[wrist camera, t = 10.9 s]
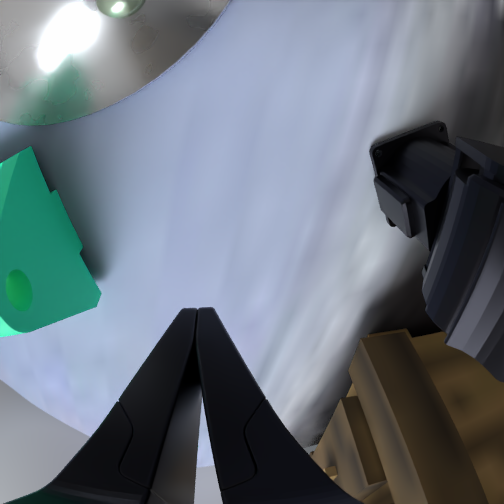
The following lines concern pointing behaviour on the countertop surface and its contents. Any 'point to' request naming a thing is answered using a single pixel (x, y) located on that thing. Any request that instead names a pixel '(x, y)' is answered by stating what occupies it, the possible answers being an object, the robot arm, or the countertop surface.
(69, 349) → the countertop surface
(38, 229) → the camera mount
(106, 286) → the countertop surface
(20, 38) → the plate
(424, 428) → the crate
